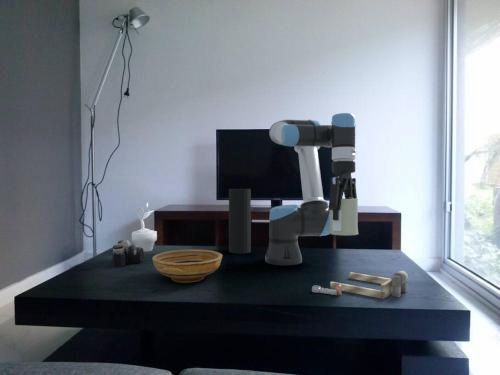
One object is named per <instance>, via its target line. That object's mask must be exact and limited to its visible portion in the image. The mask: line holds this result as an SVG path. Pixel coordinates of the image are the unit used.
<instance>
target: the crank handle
mask: <svg viewBox="0 0 500 375" xmlns="http://www.w3.org/2000/svg"><path fill="white" fill-rule="evenodd" d="M311 292H312V293H318V294H328V295H332V296H333V295H335V296H342V295H343V294H342V292H343V291H342V285H341V284H336V289H331V288H325V287H321V285H316V284H315V285H313V286H312V287H311Z"/></svg>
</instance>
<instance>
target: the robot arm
mask: <svg viewBox="0 0 500 375" xmlns="http://www.w3.org/2000/svg"><path fill="white" fill-rule="evenodd" d="M355 117H356V116H355V115H354V114H353V113H349V112H342V113H336V114H335V113H334V114H333V115H332V117H331V124H327V125H325V124H321V123H320V122H319V121H318V120H314V119H313V120H312V119H308V120H307V119H304V120H303V119H282V120H279V121H276V122H274V123H273V124H272V125H271V126H270V128H269V132H268V134H269V138H270V140H271V141H272V142H274V143H275V144H278V145H281V146H284V147H285V146H286V147H294V151H295V152H296V153H297V154H298V162H299V171H300V181H301V190H302V192H301V193H302V201H303V202H301V204H300V205H297V204H285V205H278V206H274V207H272V208H270V211H269V218H268V220H269V244H268V247H267V249H266V253H265V256H264V258H265V259H264V262H265V263H267V264H269V265H275V266H296V265H300V264H302V262H303V257H302V253H301V250H300V247H299V242H298V239H299V237H314V236H315V237H322V236H328V235H331V234H330V233H329V232H330V210H333V230H334V231H342V226H341V210H340V206H341V199H342V198H343V196H344V198H345V199H352V198H355V199H358V196H357V187H356V186H357V185H356V184H357V181H356V180H357V178H356V177H354V178H353V177H352V174H353V173H356V162H355V160H356V153H357V150H356V118H355ZM321 147H324V148H330V149H331V160H332V163H331V172H332V173H333V174H335V177H330V188H329V189H330V190H329V191H330V192H329V199H328V200H329V201H326V200H325V199H324V192H323V185H322V184H323V183H322V178H321V177H322V176H321V169H320V160H319V153H318V150H320V149H321ZM349 197H350V198H349ZM299 206H300V207H299Z"/></svg>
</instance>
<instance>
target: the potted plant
mask: <svg viewBox="0 0 500 375" xmlns="http://www.w3.org/2000/svg"><path fill="white" fill-rule="evenodd" d="M145 206H146V208H147V210H148V211H146V212H145V210H144V208H143V207H142V206H140V205H139V206H137V207H136V209H135V214H136V215H137V218H138V220H139V221H140V223H139V224H140V226H141V228H140V229H138V230H136V231H132V232H131V243H133V244H134V247H140V248H143V251H144V252H150V251H153V248H154V245H155V242H156V241H157V240H158V234H157V233H158V231H156V230H151V229H150V228H146V227H145V221H144V220H145V219H147V218H148V217H149V216H150V215H151V214H152V213H153V212H155V209H154V210H149V209H148V207H149V203H148V201H146V204H145Z"/></svg>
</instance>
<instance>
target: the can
mask: <svg viewBox="0 0 500 375" xmlns="http://www.w3.org/2000/svg"><path fill="white" fill-rule="evenodd" d="M349 198H350V197H349ZM358 201H359V198H357V199H355V198H352V199H345V197H344V198H343V197H342V199H341V206H340V210H341V226H342V231H334V230H333V210H330V232H329V233H330V234H329V235H332V236H333V235H335V236H357V235H359V228H358V223H359V222H358V219H359V218H358V216H359V214H358V213H359V212H358V208H359V207H358V206H359V205H358Z"/></svg>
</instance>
